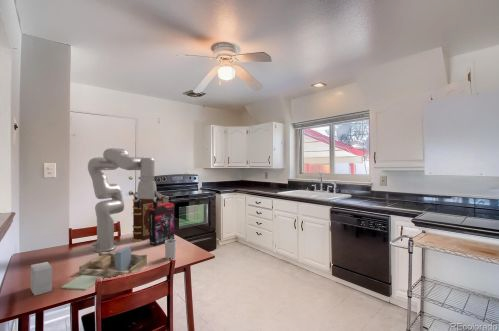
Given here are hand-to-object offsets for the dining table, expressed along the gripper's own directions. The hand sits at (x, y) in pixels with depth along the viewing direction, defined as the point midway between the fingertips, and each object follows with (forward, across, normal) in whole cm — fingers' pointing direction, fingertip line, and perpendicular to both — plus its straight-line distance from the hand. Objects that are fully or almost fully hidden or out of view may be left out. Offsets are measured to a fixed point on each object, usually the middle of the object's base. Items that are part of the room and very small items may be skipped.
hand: (147, 208), depth 148 cm
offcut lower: (+31, -18, -15) cm, 38 cm away
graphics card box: (+31, -6, +32) cm, 44 cm away
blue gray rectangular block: (+30, -5, -15) cm, 34 cm away
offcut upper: (+28, -18, -15) cm, 36 cm away
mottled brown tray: (+30, -10, -15) cm, 35 cm away
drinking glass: (+30, +12, +6) cm, 33 cm away
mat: (+30, -16, -30) cm, 45 cm away
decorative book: (+31, -22, +42) cm, 56 cm away
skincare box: (+31, -30, -38) cm, 57 cm away
